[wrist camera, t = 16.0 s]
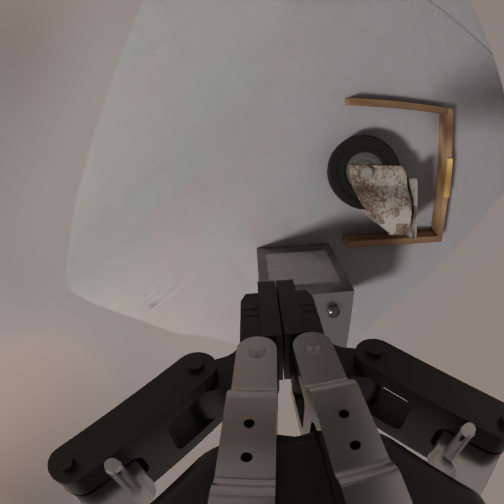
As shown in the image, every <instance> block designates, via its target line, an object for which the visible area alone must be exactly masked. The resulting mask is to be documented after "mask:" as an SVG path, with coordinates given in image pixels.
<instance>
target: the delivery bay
mask: <svg viewBox="0 0 504 504" xmlns="http://www.w3.org/2000/svg"><path fill="white" fill-rule="evenodd" d="M345 104H346V105H359V106H376V107H389V108H400V109H409V110H418V111H426V112H434V113H440V130H439V155H438V170H437V182H436V193H435V202H434V210H433V218H432V225H431V231H417V236H416V241H415V240H414V239H412V238H411V237H409V236H407V235H406V234H405V235H389V234H388V233H375V234H357V235H344V242H345V244H346V245H347V247H348V248H353V247H368V246H382V245H397V244H412V243H427V242H441V241H442V235H443V229H444V222H445V216H446V208H447V201H448V197H449V195H450V186H451V175H452V163H453V159H452V140H453V109H450V108H444V107H438V106H431V105H424V104H416V103H408V102H399V101H389V100H377V99H363V98H345Z"/></svg>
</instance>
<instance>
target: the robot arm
mask: <svg viewBox="0 0 504 504" xmlns="http://www.w3.org/2000/svg"><path fill="white" fill-rule="evenodd" d="M283 371H284V379H291V384H292V392H291V393H292V394H291V395H292V400H293V404H294V408H295V412H296V416H297V420H298V425H299V429H300V434H301V436H298V437H292V436H284V435H277V433H278V432H277V431H278V430H277V428H278V427H277V426H278V422H277V421H278V392H279V380H283ZM384 387H385V388H387V389H388V390H390V391H392V392H393V393H395V394H397V395H398V396H400V397H402V398H404V399H405V400H407V401H408V402H407V401H405V400H403V399H401V398H400V397H397V396H396V395H394V394H393V393H391V392H389V391H387V390H386V389H384ZM221 422H222V428H221V435H220V442H219V446H217V447H215V448H213V449H211V450H210V451H208V452H206V453H205V454H203V455H202V456H201V457H199V458H198V459H197V460H196V461H195V462H194V463H193V464H192V465H191V466H190V467H189V468H188V469H187V470H186V471H185V472H184V473H183V474H182V475H181V476H180V477H179V478H178V479H177V480H176V481H175V482H173V483H172V484H171V485H170V486H169V487H168V488H167V489H166V490H165V491H164V492H163V493H162V494H160V496H158V497H157V498H156V499H155V500H154V501H153V502H151V501H152V500H153V498H154V496H155V493H156V487H155V484H154V482H155V481H156V480H158V479H159V478H160V477H161V476H162V475H163V474H165V473H166V472H167V471H168V470H169V469H171V468H172V467H173V466H174V465H175V464H176V463H177V462H179V461H180V460H181V459H182V458H183V457H184V456H185V455H186V454H188V453H189V452H190V451H191V450H192V449H193V448H194V447H195V446H196V445H197V444H199V443H200V442H201V441H202V440H203V439H204V438H205V437H206V436H207V435H208V434H209V433H210V432H211V431H213V429H215V428H216V426H218V425H219V424H220V423H221ZM377 428H379V429H380V430H382V431H383V432H385V433H387V434H388V435H390V436H392V437H393V438H395V439H396V440H398V441H400V442H401V443H403V444H405V445H406V446H408V447H410V448H411V449H413V450H415V451H416V452H418V453H420V454H421V455H423V456H425V457H427V459H428V462H426V461H425V460H423V459H421V458H420V457H418V456H417V455H415V454H414V453H412V452H410V451H409V450H407V449H406V448H404V447H403V446H401V445H400V444H398V443H397V442H395V441H394V440H392V439H391V438H389V437H387V436H385V435H382V434H380V433H379V432H378V430H377ZM503 452H504V402H502V401H499V400H497V399H495V398H493V397H492V396H489V395H488V394H486V393H484V392H482V391H479V390H478V389H475V388H474V387H472V386H469V385H468V384H466V383H463V382H462V381H460V380H458V379H456V378H454V377H452V376H450V375H448V374H446V373H444V372H442V371H440V370H438V369H436V368H434V367H432V366H431V365H429V364H427V363H425V362H423V361H421V360H419V359H417V358H415V357H413V356H411V355H409V354H407V353H405V352H404V351H402V350H400V349H398V348H396V347H394V346H392V345H390V344H388V343H386V342H384V341H382V340H378V339H368V340H364V341H362V342H360V343H359V344H358V345H357V347H356V349H354V348H345V347H340V346H337V345H334V344H333V343H332V341H331V340H330V339H329V338H328V337H327V336H326V335H325V334H324V331H323V327H322V324H321V321H320V318H319V314H318V312H317V308H316V305H315V302H314V299H313V296H312V295H311V294H310V293H309V292H308V291H307V290H295V286H294V282H293V279H287V280H276V287H275V281H259V282H258V293H253V294H246V295H245V296H244V297H243V299H242V300H241V320H240V343H239V345H238V346H237V350H236V351H235V352H234V353H232V354H230V355H229V356H227V357H223V358H220V359H216V360H214V358H213V357H212V356H210V355H208V354H206V353H201V352H196V353H191V354H188V355H185V356H184V357H182V358H181V359H179V360H178V361H177V362H175V363H174V364H173V365H171V366H170V367H169V368H168V369H166V370H165V371H164V372H162V373H161V374H160V375H158V376H157V377H156V378H154V379H153V380H152V381H151V382H149V383H148V384H146V385H145V386H144V387H142V388H141V389H140V390H138V391H137V392H136V393H134V394H133V395H132V396H130V397H129V398H128V399H126V400H125V401H124V402H122V403H121V404H119V405H118V406H117V407H115V408H114V409H113V410H111V411H110V412H108V413H107V414H106V415H104V416H103V417H102V418H100V419H99V420H97V421H96V422H94V423H93V424H92V425H90V426H89V427H88V428H86V429H85V430H83V431H82V432H80V433H79V434H78V435H76V436H75V437H74V438H72V439H70V440H69V441H68V442H66V443H65V444H63V445H62V446H60V447H59V448H57V449H56V450H55V451H54V452H53V453H52V454H51V455H50V458H49V460H48V471H49V473H50V475H51V476H52V478H53V479H54V480H56V481H57V482H58V483H59V484H60V485H62V486H63V487H64V488H65V490H66V491H67V492H69V493H70V494H71V495H73V496H74V497H75V498H77V499H78V500H79V501H80V502H81V503H82V504H149V503H150V502H151V503H150V504H485V502H484V501H483V499H482V498H481V496H480V495H481V493H482V491H483V490H484V488H485V486H486V484H487V482H488V480H489V478H490V476H491V474H492V472H493V470H494V468H495V466H496V463H497V461H498V459H499V457H500V455H501V454H502V453H503Z"/></svg>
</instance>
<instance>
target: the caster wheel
mask: <svg viewBox="0 0 504 504" xmlns="http://www.w3.org/2000/svg"><path fill="white" fill-rule="evenodd" d="M327 174H328V180H329V184H330V186H331V188H332V190H333V191H334V193H335V194H336V195H337V196H338V197H339V198H340V199H341V200H342V201H343V202H345V203H346V204H348V205H350V206H352V207H354V208H358V209H360V210H361V211H362V212H363V213H364V214H365V215H366V216H367V217H369V218H370V219H371V220H372V221H374V222H375V223H376V224H378V225H379V226H380V227H382V228H383V229H384V230H385V231H386V232H387V233H388V234H389V235H405V234H406V235H407V236H409V237H411V238H412V239H414V240H415V241H416V236H417V208H418V181H417V178H407V176H406V172H405V170H404V167H403V166H400V164H399V161H398V159H397V156H396V155H395V153H394V151H393V150H392V149H391V148H390V147H389V146H388V145H387V144H386V143H385V142H383V141H382V140H380V139H378V138H375V137H372V136H367V135H361V136H354V137H351V138H349V139H347V140H345V141H344V142H342V143H341V144H340V145H339V146H337V147H336V149H335V150H334V151H333V153H332V154H331V156H330V159H329V162H328V169H327Z"/></svg>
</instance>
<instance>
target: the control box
mask: <svg viewBox="0 0 504 504" xmlns="http://www.w3.org/2000/svg"><path fill="white" fill-rule="evenodd" d="M257 259H258V275H259V281H275V287H276V280H287V279H293V282H294V286H295V290H307V291H308V292H309V293H310V294H311V295H312V296H313V299H314V302H315V305H316V308H317V312H318V314H319V318H320V321H321V324H322V327H323V331H324V334H325V335H326V336H327V337H328V338H329V339H330V340H331V341H332V343H333V344H334V345H337V346H340V347H345V348H346V346H347V340H348V333H349V326H350V319H351V312H352V304H353V296H354V290H353V288H352V286H351V284H350V282H349V280H348V278H347V276H346V274H345V273H344V271H343V269H342V267H341V265H340V263H339V261H338V260H337V258H336V256H335V254H334V252H333V251H332V249H331V247H330V245H329V244H313V245H297V246H282V247H267V248H257Z"/></svg>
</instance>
